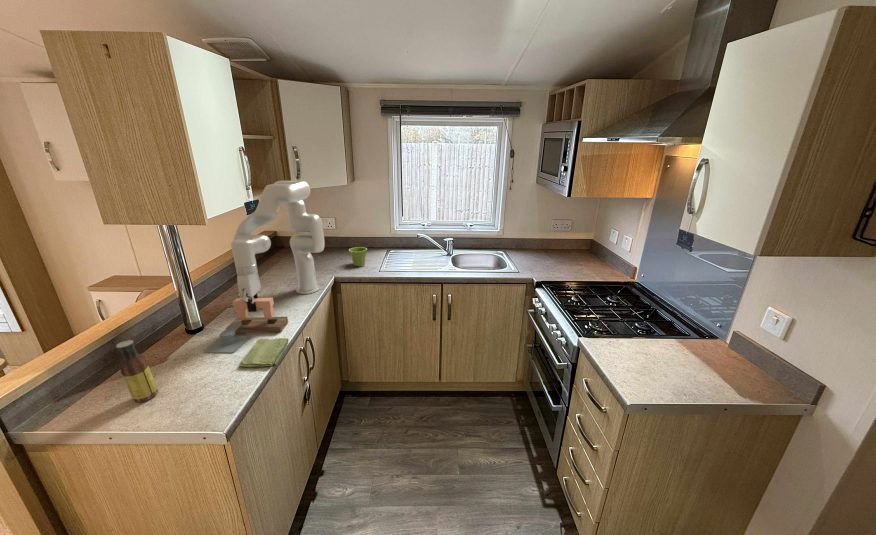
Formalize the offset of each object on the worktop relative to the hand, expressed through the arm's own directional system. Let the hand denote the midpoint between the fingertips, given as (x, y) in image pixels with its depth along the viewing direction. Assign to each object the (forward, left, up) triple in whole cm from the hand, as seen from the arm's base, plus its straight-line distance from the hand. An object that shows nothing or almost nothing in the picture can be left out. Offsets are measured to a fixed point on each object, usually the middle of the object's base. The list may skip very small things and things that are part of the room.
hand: (254, 308), depth 143 cm
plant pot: (-82, +31, -10) cm, 88 cm away
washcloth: (+21, +12, -10) cm, 26 cm away
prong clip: (0, 0, -4) cm, 4 cm away
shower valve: (+11, -7, -10) cm, 16 cm away
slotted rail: (0, 0, -9) cm, 9 cm away
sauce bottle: (+42, -17, -10) cm, 46 cm away
